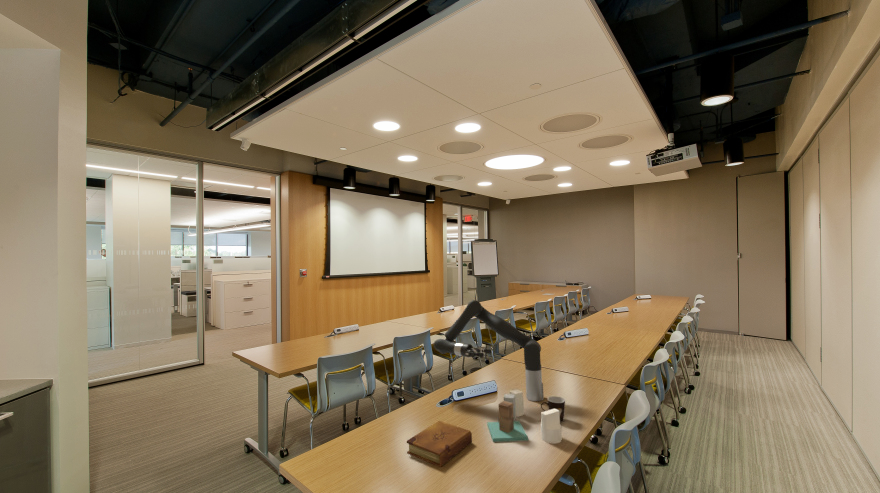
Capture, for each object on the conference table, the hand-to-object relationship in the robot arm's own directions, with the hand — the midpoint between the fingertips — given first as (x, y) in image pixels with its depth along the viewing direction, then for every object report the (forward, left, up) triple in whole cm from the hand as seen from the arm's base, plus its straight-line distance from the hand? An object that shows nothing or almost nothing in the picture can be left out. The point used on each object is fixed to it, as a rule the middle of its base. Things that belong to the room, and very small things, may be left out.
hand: (487, 353), depth 196 cm
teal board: (-4, +29, -30) cm, 42 cm away
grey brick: (-8, +16, -30) cm, 35 cm away
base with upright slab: (-23, +36, -30) cm, 52 cm away
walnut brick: (-4, +29, -28) cm, 41 cm away
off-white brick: (-13, +10, -30) cm, 34 cm away
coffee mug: (-31, +17, -30) cm, 46 cm away
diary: (+29, +40, -31) cm, 58 cm away
